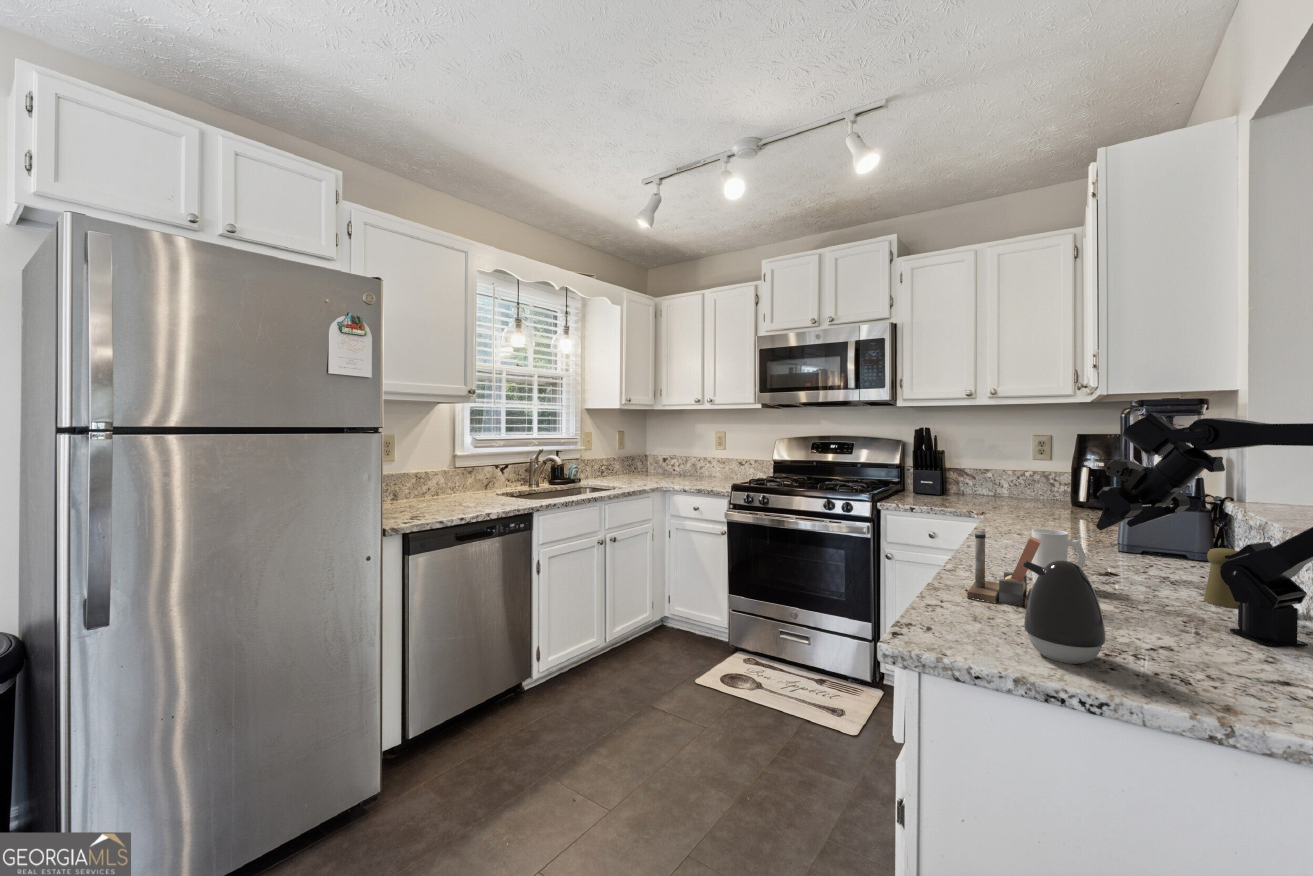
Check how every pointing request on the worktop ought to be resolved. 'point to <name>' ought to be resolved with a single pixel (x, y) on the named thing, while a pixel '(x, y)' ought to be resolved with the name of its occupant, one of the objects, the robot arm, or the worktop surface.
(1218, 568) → the olive tapered cylinder
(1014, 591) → the stand
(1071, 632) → the pump dispenser
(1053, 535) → the mug
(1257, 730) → the worktop surface
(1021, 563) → the adjuster lever
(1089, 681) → the worktop surface
